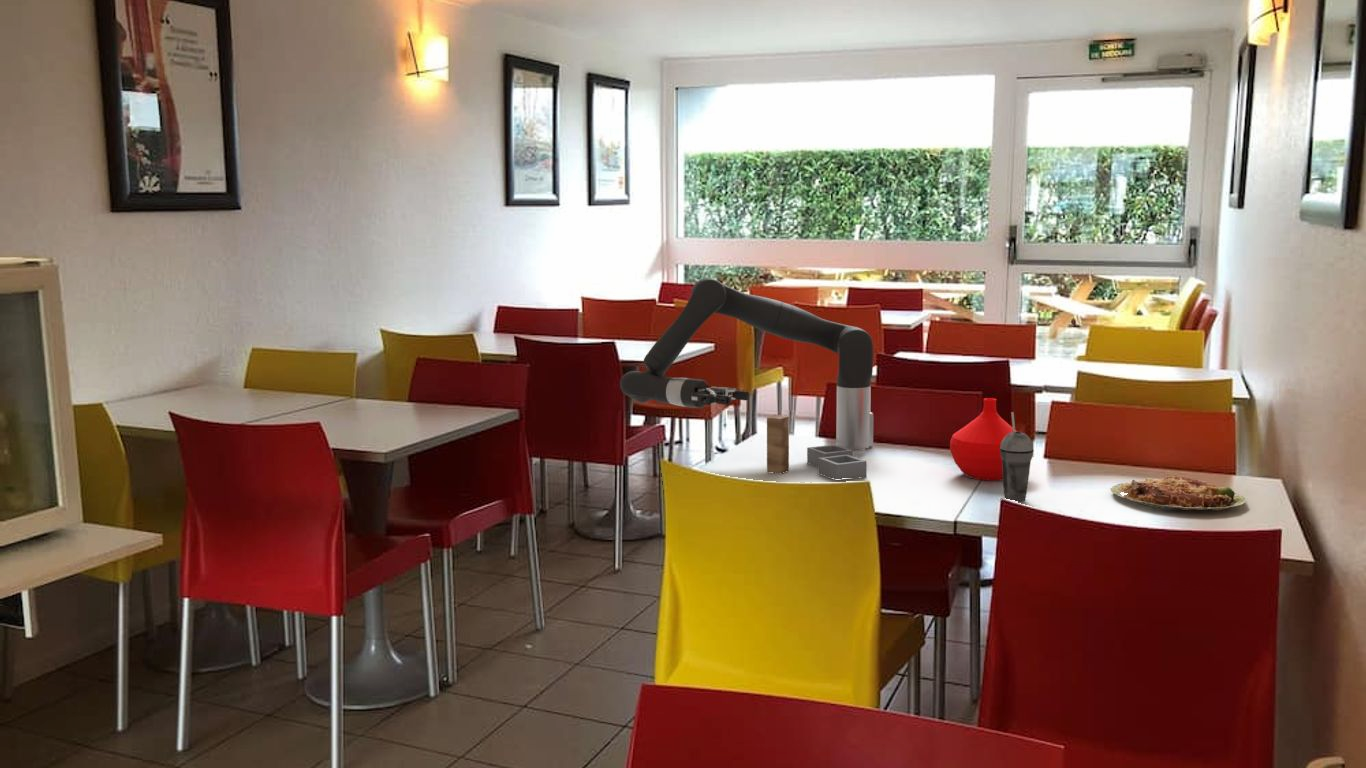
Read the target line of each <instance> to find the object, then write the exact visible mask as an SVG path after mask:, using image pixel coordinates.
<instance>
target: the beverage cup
mask: <svg viewBox="0 0 1366 768" xmlns="http://www.w3.org/2000/svg"><path fill="white" fill-rule="evenodd" d="M1014 413H1015V412H1014V411H1012V412H1010V414H1011V415H1010V416H1011V427H1013V432H1011V433H1009V434H1007V435H1006V436H1005V437H1004V438H1003V440H1002V442H1001V447H1000V453H1001V458H1002V471H1003V480H1002V486H1003V496H1004V498H1006V499H1010V500H1015V501H1018V502H1022V503H1025V502H1026V497H1027V493H1028V485H1029V479H1030V478H1029V477H1030V469H1031V461H1032V458H1033V454H1034V445H1033V442H1032V439H1031V438H1030V437H1029V435H1027V434H1026V433H1024V432H1022V431H1018V432H1015V430H1016V426H1015V425H1016V423H1015V414H1014Z"/></svg>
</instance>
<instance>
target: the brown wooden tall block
mask: <svg viewBox="0 0 1366 768" xmlns="http://www.w3.org/2000/svg"><path fill="white" fill-rule="evenodd" d="M789 439H790V416H789V415H778V414H774V415H771V416H768V417H766V473H769V472H773V473H772V474H776V473H782V474H784V473H783V472H785V473H787V472H786V471H788V472H789V470H790V462H789V461H790V459H789V458H790V456H789V455H790V451H789V450H790V449H789V448H790V440H789Z"/></svg>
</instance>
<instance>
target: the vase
mask: <svg viewBox="0 0 1366 768" xmlns="http://www.w3.org/2000/svg"><path fill="white" fill-rule="evenodd" d="M1011 432H1013V427H1012V425H1010V424H1009V423H1008V422H1007V421H1006V420H1004V419H1003V418H1002V417H1001V416H1000V414H999V413H998V412H997V398H993V397H989V398H988V397H985V398H983V409H982V412H981V413H980V414H979V415H978V416H977V417H976V418H974V419H973V420H972V421H970V422H969V423H967V424H966V425H965V426H963V427H962V428H960V429H959V430H957V431H956V432H954V433H953V434H952V436H951V439H950V442H949V451H950V453H951V457H952V458H953V461H954V463H955V464H956V466H957V467H958V469H959V470H960V471H961V473H963V474H964V475H965V476H967V477H968V478H972V479H974V480H980V481H991V482H993V481H1003V471H1002V458H1001V453H1000V447H1001V442H1002V440H1003V438H1004V437H1005V436H1006V435H1007V434H1009V433H1011ZM1015 432H1019V431H1018V430H1016V429H1015Z"/></svg>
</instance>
